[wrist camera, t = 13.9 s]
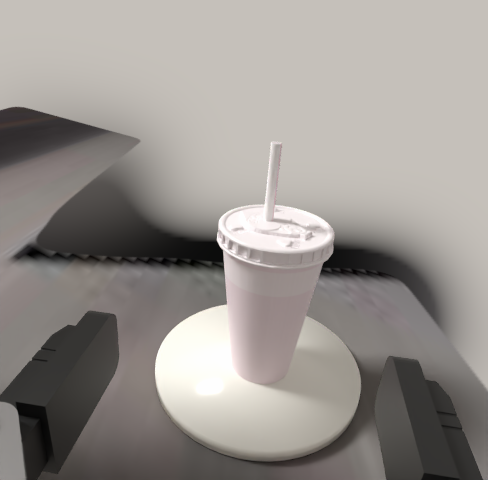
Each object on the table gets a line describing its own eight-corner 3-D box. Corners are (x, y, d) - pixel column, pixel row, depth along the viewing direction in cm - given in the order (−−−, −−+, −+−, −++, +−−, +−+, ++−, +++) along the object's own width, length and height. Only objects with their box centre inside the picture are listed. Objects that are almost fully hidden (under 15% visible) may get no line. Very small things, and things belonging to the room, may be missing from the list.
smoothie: (249, 319, 31) (268, 126, 25) (327, 359, 28) (371, 148, 22) (189, 366, 26) (194, 141, 20) (275, 420, 23) (312, 172, 17)
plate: (113, 416, 23) (112, 406, 23) (203, 296, 35) (203, 288, 34) (349, 497, 20) (352, 486, 20) (364, 336, 31) (366, 327, 31)
